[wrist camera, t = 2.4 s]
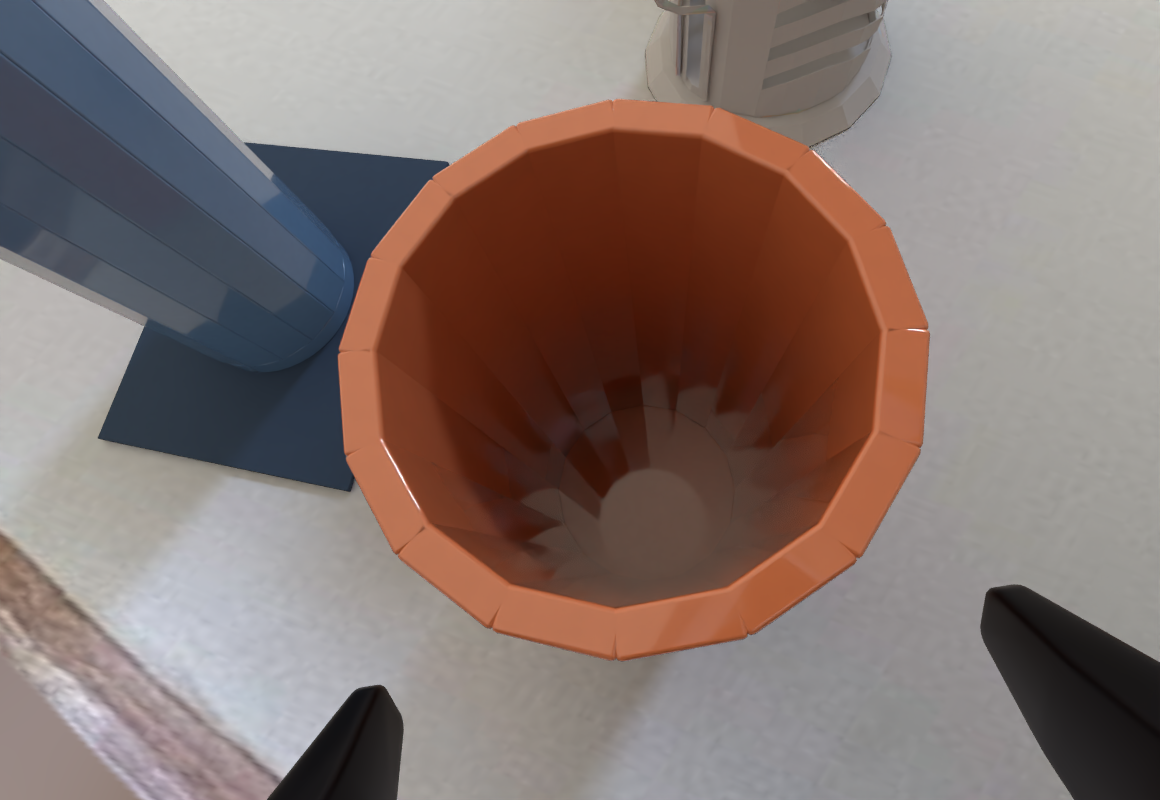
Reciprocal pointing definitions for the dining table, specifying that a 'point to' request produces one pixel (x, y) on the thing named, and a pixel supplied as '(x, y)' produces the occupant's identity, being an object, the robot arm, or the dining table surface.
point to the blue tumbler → (153, 196)
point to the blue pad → (280, 398)
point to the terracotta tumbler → (633, 378)
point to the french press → (772, 60)
